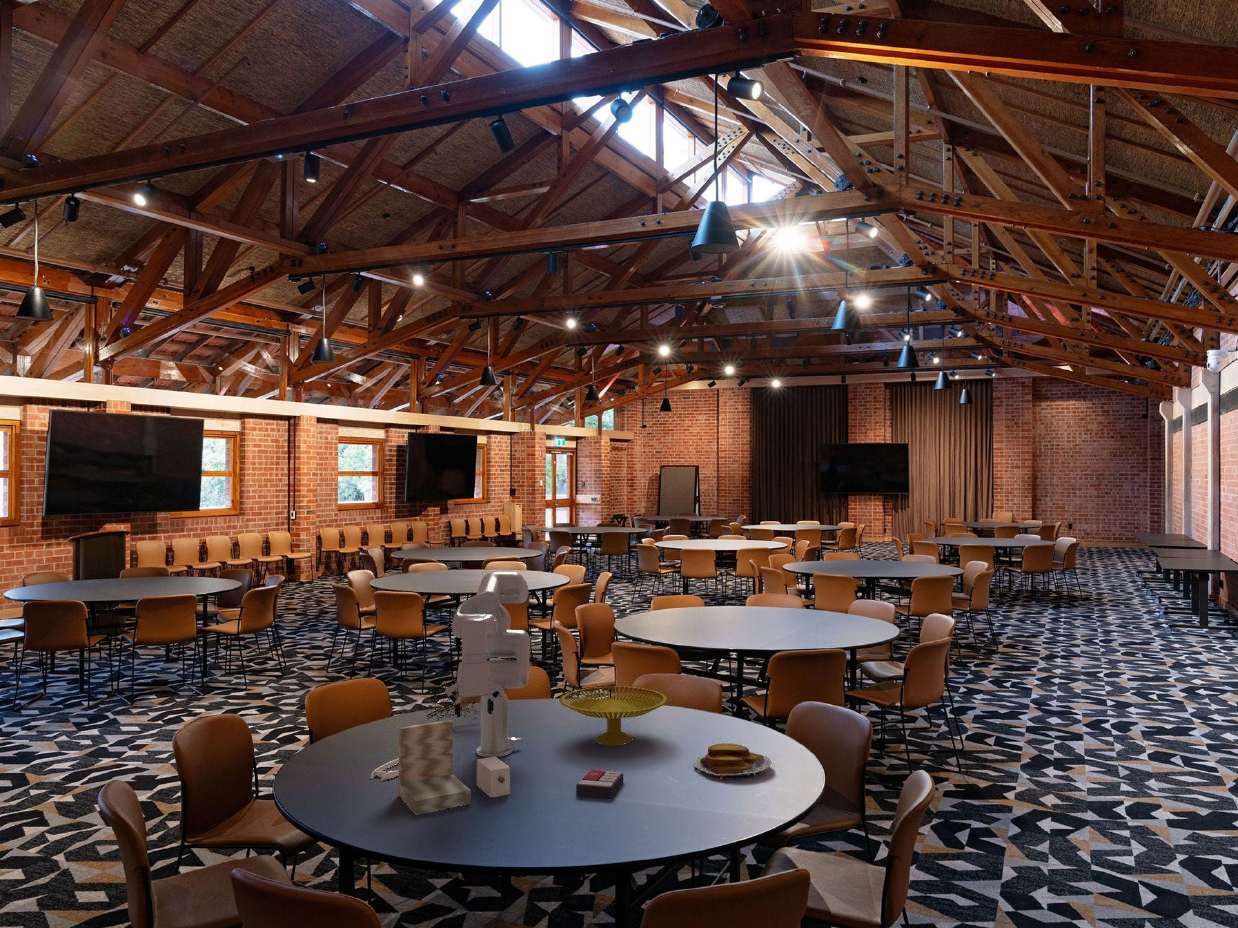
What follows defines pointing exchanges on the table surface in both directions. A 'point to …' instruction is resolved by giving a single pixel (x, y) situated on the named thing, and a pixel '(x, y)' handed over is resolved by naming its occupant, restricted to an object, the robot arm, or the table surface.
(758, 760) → the food on plate
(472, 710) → the dried plant
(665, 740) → the table surface
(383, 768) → the door handle
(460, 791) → the beige zigzag bookend
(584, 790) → the small patterned box
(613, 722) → the yellow pedestal fruit bowl
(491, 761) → the pale taupe block
